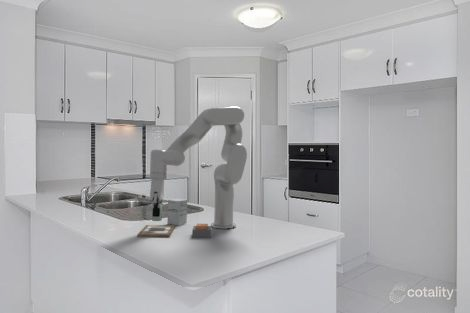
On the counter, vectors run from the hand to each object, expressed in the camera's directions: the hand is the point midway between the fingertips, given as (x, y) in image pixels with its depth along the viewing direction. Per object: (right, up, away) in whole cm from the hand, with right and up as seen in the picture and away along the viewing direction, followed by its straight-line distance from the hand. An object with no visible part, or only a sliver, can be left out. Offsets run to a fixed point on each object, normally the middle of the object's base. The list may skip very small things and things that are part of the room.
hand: (157, 215), depth 168 cm
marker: (0, -2, 0) cm, 2 cm away
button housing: (+21, -8, -5) cm, 23 cm away
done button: (+21, -6, -5) cm, 23 cm away
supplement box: (+6, -8, +20) cm, 22 cm away
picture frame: (0, -8, 0) cm, 8 cm away
